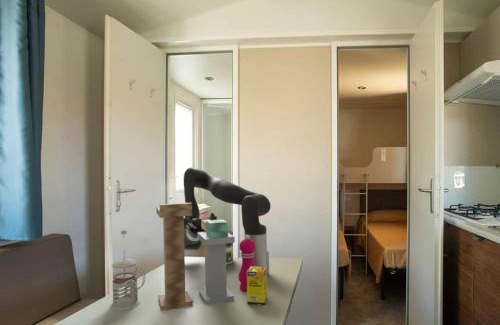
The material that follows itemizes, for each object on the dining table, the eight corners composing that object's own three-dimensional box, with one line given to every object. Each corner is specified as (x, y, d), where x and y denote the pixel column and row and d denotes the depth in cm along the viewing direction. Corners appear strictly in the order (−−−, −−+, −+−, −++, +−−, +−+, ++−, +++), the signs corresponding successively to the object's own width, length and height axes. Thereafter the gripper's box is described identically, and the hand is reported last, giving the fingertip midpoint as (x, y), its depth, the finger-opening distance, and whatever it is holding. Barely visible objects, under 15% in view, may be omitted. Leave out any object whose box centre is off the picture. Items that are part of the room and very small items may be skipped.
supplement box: (265, 305, 114) (264, 271, 114) (247, 304, 115) (246, 271, 115) (267, 298, 119) (267, 266, 119) (250, 297, 121) (249, 265, 121)
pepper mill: (260, 286, 131) (259, 233, 131) (254, 293, 124) (253, 237, 124) (242, 285, 133) (241, 232, 133) (235, 291, 126) (234, 236, 127)
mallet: (212, 226, 136) (212, 214, 136) (227, 236, 117) (227, 221, 117) (197, 228, 134) (197, 215, 134) (210, 238, 115) (210, 223, 115)
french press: (116, 298, 122) (115, 227, 122) (149, 298, 122) (148, 227, 122) (104, 310, 112) (102, 233, 113) (139, 310, 112) (138, 232, 112)
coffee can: (234, 258, 171) (233, 230, 171) (232, 264, 160) (232, 234, 161) (213, 259, 171) (212, 230, 171) (210, 265, 161) (209, 234, 161)
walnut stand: (187, 294, 124) (185, 199, 125) (194, 308, 112) (191, 203, 112) (158, 299, 121) (156, 201, 121) (162, 313, 109) (159, 205, 109)
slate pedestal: (225, 289, 129) (223, 230, 129) (236, 302, 117) (234, 236, 117) (198, 293, 125) (197, 232, 125) (206, 307, 113) (205, 239, 113)
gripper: (178, 223, 152) (183, 208, 139) (210, 220, 157) (218, 206, 144) (180, 239, 149) (185, 226, 136) (212, 236, 154) (221, 223, 141)
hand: (202, 215), depth 140 cm, fingers open, 8 cm apart
